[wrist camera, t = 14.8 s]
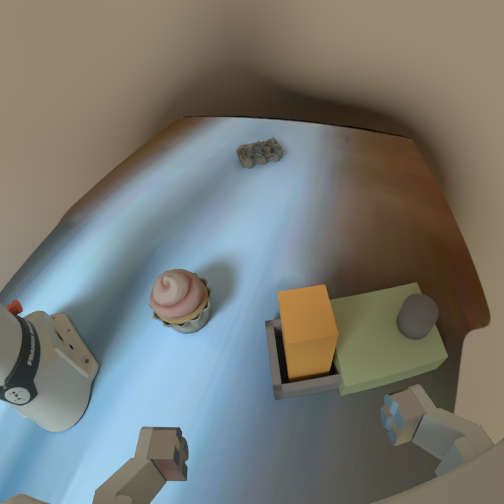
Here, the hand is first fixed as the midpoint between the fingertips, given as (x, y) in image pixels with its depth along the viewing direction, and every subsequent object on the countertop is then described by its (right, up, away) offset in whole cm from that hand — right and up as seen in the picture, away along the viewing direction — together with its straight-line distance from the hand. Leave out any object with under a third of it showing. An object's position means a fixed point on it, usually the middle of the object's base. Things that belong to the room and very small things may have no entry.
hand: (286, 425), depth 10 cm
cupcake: (-11, -3, +35) cm, 37 cm away
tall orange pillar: (+6, -7, +28) cm, 29 cm away
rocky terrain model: (+1, +29, +63) cm, 70 cm away
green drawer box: (+12, -6, +27) cm, 31 cm away
